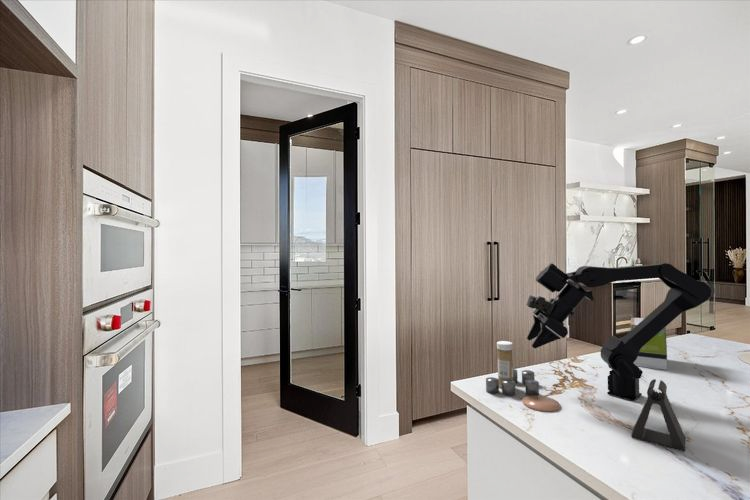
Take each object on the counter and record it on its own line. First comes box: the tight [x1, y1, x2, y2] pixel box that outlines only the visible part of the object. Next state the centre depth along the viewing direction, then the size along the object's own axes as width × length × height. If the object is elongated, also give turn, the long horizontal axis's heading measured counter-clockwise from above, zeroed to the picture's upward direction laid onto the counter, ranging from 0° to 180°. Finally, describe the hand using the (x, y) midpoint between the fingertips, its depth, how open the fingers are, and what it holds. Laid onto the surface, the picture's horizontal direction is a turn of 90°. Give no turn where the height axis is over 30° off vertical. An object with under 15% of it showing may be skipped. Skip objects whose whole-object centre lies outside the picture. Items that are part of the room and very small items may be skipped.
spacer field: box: [485, 368, 540, 397], centre depth 108 cm, size 13×17×4 cm
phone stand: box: [630, 378, 687, 452], centre depth 79 cm, size 9×6×12 cm, turn 48°
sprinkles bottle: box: [496, 340, 514, 389], centre depth 110 cm, size 5×5×13 cm
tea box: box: [629, 316, 668, 371], centre depth 130 cm, size 15×10×15 cm, turn 144°
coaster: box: [522, 394, 561, 413], centre depth 97 cm, size 9×9×1 cm
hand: (530, 343), depth 108 cm, fingers open, 9 cm apart
